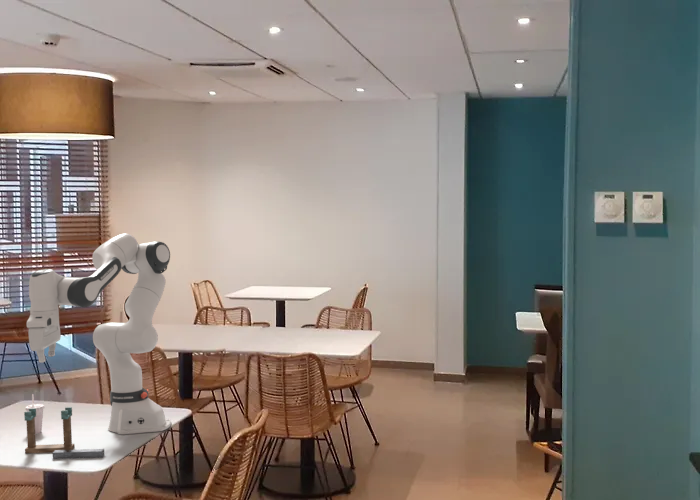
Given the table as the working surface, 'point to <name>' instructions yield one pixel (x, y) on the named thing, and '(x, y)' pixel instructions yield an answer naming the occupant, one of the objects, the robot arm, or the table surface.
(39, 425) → the smoothie
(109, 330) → the robot arm
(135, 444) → the table surface
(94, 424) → the table surface
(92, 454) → the rail
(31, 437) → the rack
